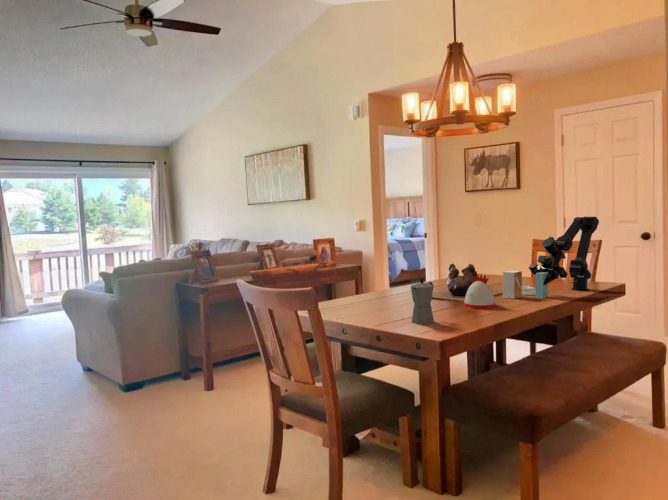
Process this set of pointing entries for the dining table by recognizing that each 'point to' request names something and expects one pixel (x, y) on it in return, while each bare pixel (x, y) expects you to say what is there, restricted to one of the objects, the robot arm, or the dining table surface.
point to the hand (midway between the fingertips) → (540, 284)
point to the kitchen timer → (479, 294)
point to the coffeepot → (422, 302)
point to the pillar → (541, 285)
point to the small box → (512, 284)
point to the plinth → (528, 290)
